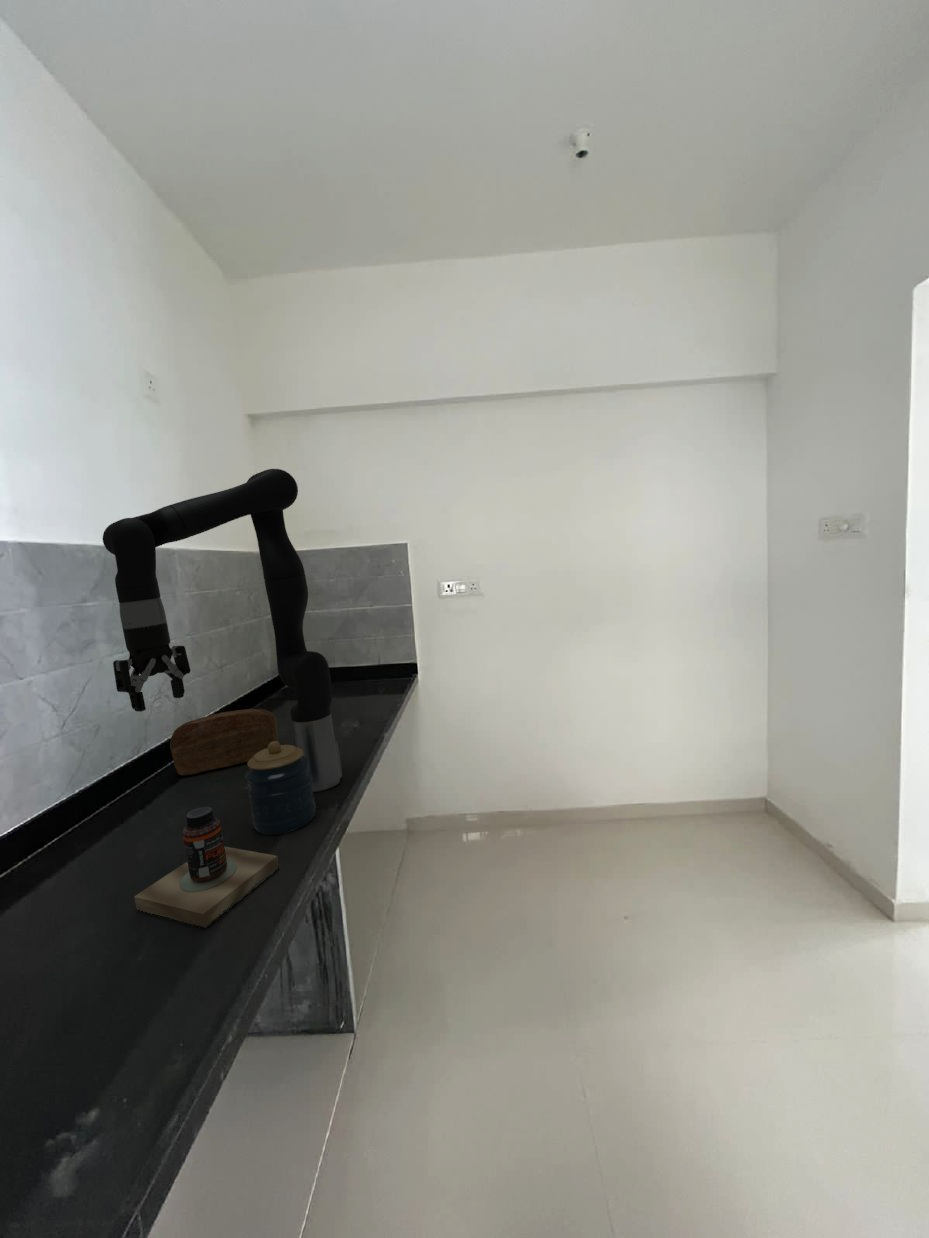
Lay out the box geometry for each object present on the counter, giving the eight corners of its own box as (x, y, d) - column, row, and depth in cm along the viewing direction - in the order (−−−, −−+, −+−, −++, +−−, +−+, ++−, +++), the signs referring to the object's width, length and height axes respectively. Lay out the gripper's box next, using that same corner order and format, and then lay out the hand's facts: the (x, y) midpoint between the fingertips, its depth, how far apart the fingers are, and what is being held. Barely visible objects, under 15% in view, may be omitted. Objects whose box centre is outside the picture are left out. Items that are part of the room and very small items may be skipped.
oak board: (215, 856, 105) (213, 843, 104) (279, 868, 98) (277, 854, 98) (136, 910, 90) (134, 895, 90) (205, 928, 84) (202, 912, 83)
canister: (242, 825, 116) (229, 746, 114) (297, 800, 126) (285, 727, 123) (272, 843, 107) (258, 758, 105) (328, 815, 117) (317, 736, 114)
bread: (282, 757, 155) (274, 709, 153) (173, 782, 145) (163, 730, 143) (280, 745, 166) (273, 699, 164) (178, 767, 156) (169, 719, 154)
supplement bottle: (213, 884, 90) (201, 820, 89) (182, 883, 92) (170, 820, 90) (235, 863, 96) (224, 803, 95) (206, 862, 98) (195, 803, 96)
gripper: (122, 629, 97) (140, 716, 100) (189, 616, 110) (203, 693, 112) (95, 631, 100) (113, 715, 102) (163, 618, 113) (177, 693, 115)
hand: (160, 703), depth 107 cm, fingers open, 8 cm apart
